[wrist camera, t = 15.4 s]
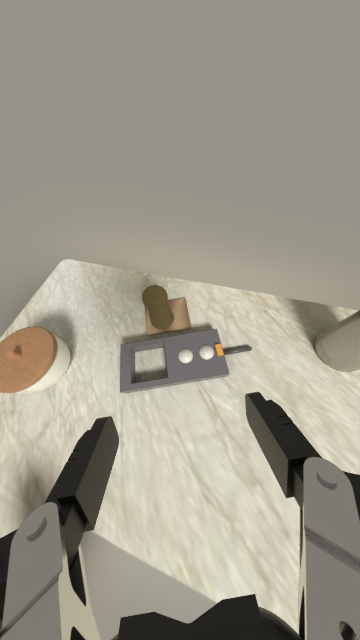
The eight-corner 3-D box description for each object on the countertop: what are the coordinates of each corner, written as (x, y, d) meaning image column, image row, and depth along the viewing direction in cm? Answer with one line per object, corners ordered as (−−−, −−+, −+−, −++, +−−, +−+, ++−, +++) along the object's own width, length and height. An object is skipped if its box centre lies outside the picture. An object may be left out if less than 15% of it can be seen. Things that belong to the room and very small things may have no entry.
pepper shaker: (152, 308, 45) (140, 280, 35) (174, 308, 44) (169, 280, 34) (149, 329, 42) (136, 305, 32) (173, 329, 41) (167, 305, 32)
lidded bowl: (86, 377, 38) (50, 366, 28) (29, 407, 36) (-31, 407, 26) (75, 333, 44) (40, 311, 34) (25, 357, 41) (-27, 341, 32)
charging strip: (243, 329, 41) (248, 322, 38) (258, 370, 36) (265, 367, 33) (125, 348, 41) (119, 343, 37) (125, 393, 36) (118, 391, 33)
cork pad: (185, 299, 46) (185, 297, 45) (191, 328, 42) (191, 327, 41) (145, 305, 46) (145, 304, 45) (147, 335, 42) (146, 334, 41)
